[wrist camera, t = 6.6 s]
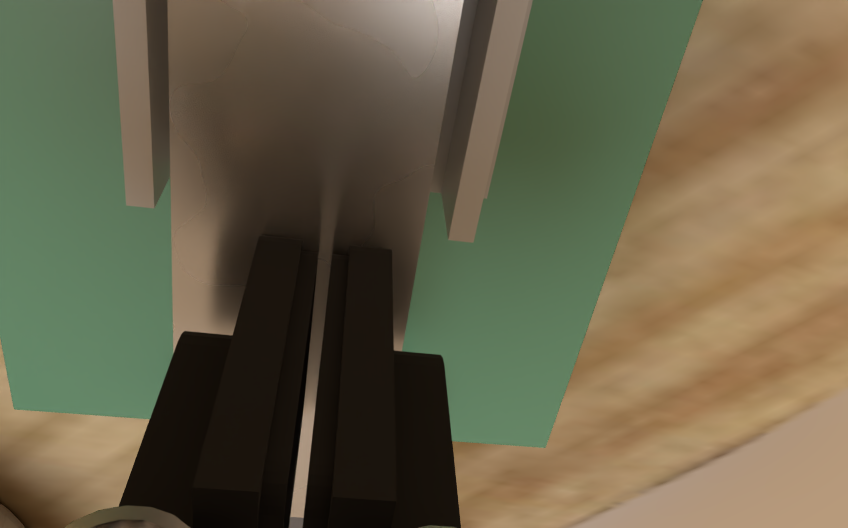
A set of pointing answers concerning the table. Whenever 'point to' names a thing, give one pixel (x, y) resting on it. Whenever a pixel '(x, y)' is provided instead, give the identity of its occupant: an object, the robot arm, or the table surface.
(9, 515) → the cupcake
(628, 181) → the board
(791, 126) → the table surface
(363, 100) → the grey long bar
